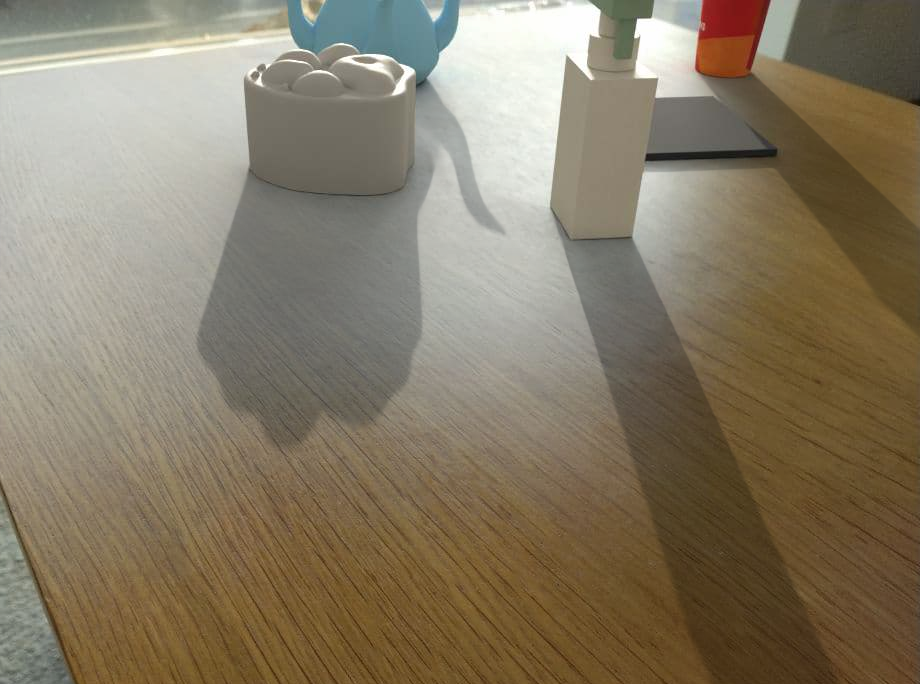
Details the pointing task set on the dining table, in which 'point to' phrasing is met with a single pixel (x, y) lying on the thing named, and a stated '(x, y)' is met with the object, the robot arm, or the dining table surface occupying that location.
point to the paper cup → (729, 36)
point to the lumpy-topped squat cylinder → (331, 121)
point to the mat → (701, 131)
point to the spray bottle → (604, 127)
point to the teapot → (378, 29)
